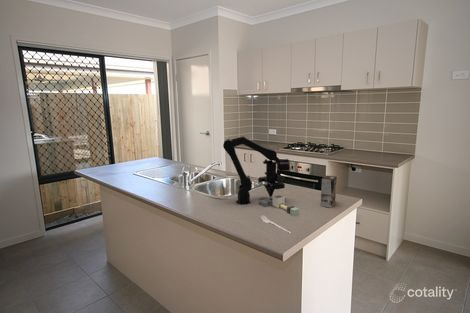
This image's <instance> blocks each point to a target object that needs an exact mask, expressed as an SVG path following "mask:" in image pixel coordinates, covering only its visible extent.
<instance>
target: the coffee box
mask: <svg viewBox="0 0 470 313" xmlns="http://www.w3.org/2000/svg"><path fill="white" fill-rule="evenodd" d="M337 179H338V178H337V176H335V175H324V176H323V178H321V192H320V193H321V194H320V206H321V207H324V208H326V207H327V208H333V207H334V205H335V204H336V196H337V195H336V192H337Z"/></svg>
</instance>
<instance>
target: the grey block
mask: <svg viewBox="0 0 470 313" xmlns="http://www.w3.org/2000/svg"><path fill="white" fill-rule="evenodd" d="M272 198H273V205H272V206H273V207H274V208H278V209H279V208H280V207H279V204H283V205H285V204H286V202H285V198H286V197H285V196H283V195H274V196H273V195H272ZM285 206H286V205H285Z"/></svg>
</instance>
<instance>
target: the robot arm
mask: <svg viewBox="0 0 470 313" xmlns="http://www.w3.org/2000/svg"><path fill="white" fill-rule="evenodd" d="M240 145H244V146H246V147H248V148H250V149H251V150H254V151H256V152H258V153H260V154H261V155H262V156H263V157H265V159H264V160H262V163H263V164H264V165H266V167H265V171H264V175H265V176H264V175H263V176H260V177H258V179H257V180H258V181H257V183H260V184H261V183H263V182H264V184H263V186H264V189H265V190H266V192H267V193H268V196H269V198H273V195H274V193H275V190H281V189H282V190H283V189H285V187H286V186H285V183H284V181H285V176H283V175H280V174H279V172H289V171H290V169H291V167H290V166H291V165H290V161H289V160H290V159H288V158H286V159H285V158H284V159H283V158H282V159H280V158H279V157H278V156H277V155H278V154H277V152H276V151H275V149H274V148H270V147H266V146H263V145H260V144H259V143H257V142H254V141H253V140H252V139H249V138H247V137H245V136H243V135H241V136H238V137H235V138H231V139H230V138H227V139H225V140H224V141H223V144H222V146H223V149H224V150H225V152H226V154H228V156H229V157H230V159H231V162H232V164H233V166H234V168H235V170H236V173H237V175H238V176H239V180H240V185H239V186H238V192H237V200H236V203H237V204H240V205H242V206H243V205H248V204H251V202H252V201H251V199H250V197H251V195H250V191H251V190H252V188H253V181H252V179H251V177H250V175H247V174H246V172H245V170H244V168H243V166H242V163H241V161H240V159H239V156H238V155H237V152H236V147H238V146H240ZM277 170H278V171H279V172H277Z"/></svg>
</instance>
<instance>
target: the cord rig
mask: <svg viewBox="0 0 470 313" xmlns="http://www.w3.org/2000/svg"><path fill="white" fill-rule="evenodd" d="M285 203H287V198H286V197H285ZM258 205H259V206H262V207H263V208H266V207H272V206H273V197H268V198H265V199H261V200H258ZM279 208H281V209H283V210H284V211H286V213H287V214H290V215H292V216H297V215H300V213H299V212H300V208H298V207H296V206H294V205H291V206H287V205H283V204H279Z"/></svg>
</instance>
